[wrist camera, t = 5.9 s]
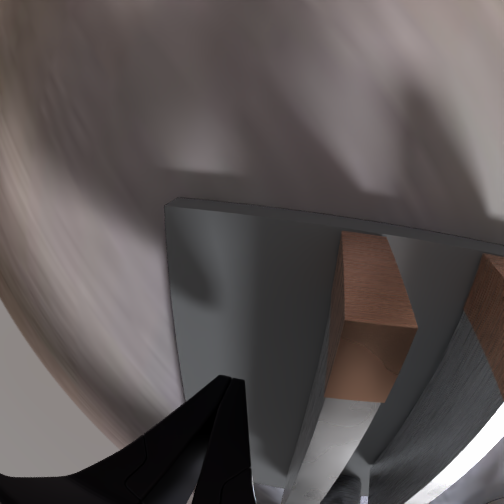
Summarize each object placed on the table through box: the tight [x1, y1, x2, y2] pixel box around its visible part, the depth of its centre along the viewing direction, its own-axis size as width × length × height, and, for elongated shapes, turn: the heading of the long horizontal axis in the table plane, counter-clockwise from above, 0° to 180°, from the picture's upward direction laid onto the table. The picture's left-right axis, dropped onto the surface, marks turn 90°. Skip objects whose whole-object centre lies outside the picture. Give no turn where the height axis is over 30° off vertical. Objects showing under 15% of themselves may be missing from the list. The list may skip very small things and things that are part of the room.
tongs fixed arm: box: [368, 253, 504, 504], centre depth 8 cm, size 13×1×4 cm, turn 177°
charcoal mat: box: [164, 198, 504, 496], centre depth 12 cm, size 18×17×1 cm
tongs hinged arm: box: [281, 231, 418, 504], centre depth 10 cm, size 18×5×4 cm, turn 178°
